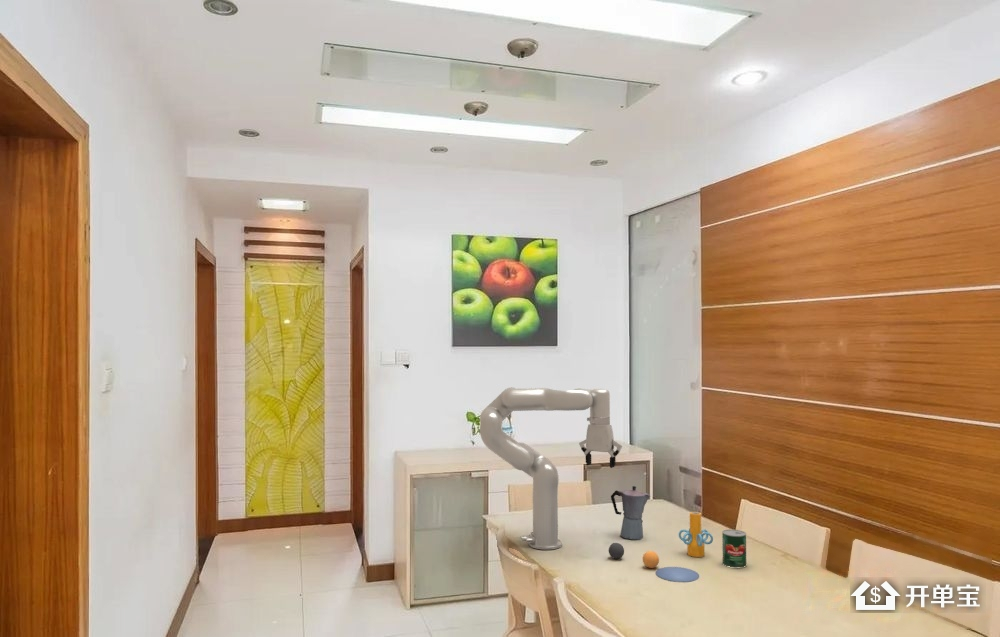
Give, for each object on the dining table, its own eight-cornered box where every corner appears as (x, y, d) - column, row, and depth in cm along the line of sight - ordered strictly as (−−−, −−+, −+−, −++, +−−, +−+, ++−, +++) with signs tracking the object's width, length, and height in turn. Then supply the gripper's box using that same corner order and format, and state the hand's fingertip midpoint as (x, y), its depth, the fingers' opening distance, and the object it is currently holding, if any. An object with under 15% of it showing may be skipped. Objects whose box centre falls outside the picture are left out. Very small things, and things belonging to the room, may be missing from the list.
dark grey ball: (612, 561, 237) (612, 545, 237) (606, 556, 243) (605, 541, 243) (627, 560, 239) (626, 544, 239) (620, 555, 244) (619, 540, 244)
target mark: (669, 584, 215) (669, 583, 215) (648, 569, 229) (648, 569, 229) (707, 579, 219) (707, 578, 219) (684, 565, 233) (684, 565, 233)
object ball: (647, 571, 228) (647, 554, 228) (639, 565, 233) (639, 549, 233) (662, 569, 229) (661, 553, 229) (654, 564, 234) (653, 548, 235)
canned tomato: (731, 569, 229) (730, 536, 229) (718, 562, 237) (717, 530, 237) (751, 567, 231) (751, 534, 231) (737, 559, 239) (737, 528, 239)
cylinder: (675, 556, 243) (675, 514, 243) (682, 548, 252) (681, 508, 252) (710, 561, 237) (709, 518, 237) (715, 553, 246) (715, 511, 247)
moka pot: (653, 540, 262) (652, 488, 263) (613, 540, 262) (612, 488, 263) (648, 533, 271) (647, 483, 272) (609, 533, 272) (609, 483, 272)
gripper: (575, 421, 261) (575, 465, 260) (617, 423, 252) (618, 469, 251) (583, 419, 267) (583, 462, 267) (624, 421, 258) (625, 466, 258)
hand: (600, 466), depth 259 cm, fingers open, 9 cm apart
